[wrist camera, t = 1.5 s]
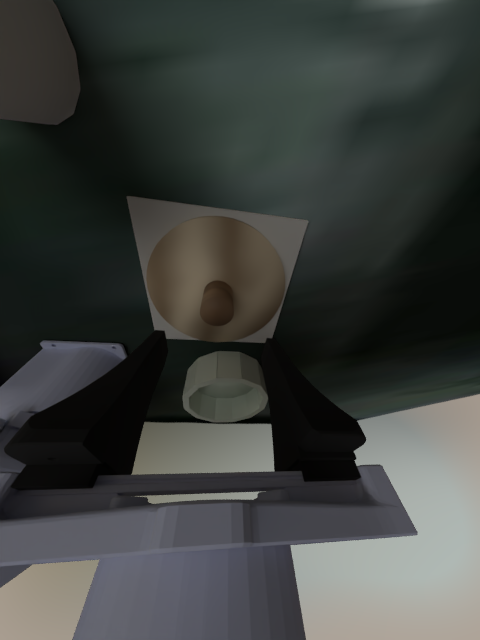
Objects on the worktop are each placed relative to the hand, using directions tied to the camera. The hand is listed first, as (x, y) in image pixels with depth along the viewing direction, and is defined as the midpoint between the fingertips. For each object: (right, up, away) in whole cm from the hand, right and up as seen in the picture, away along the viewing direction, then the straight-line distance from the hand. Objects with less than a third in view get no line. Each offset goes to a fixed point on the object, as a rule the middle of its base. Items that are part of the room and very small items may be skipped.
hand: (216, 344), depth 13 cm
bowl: (-1, -8, +17) cm, 18 cm away
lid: (-1, +5, +6) cm, 8 cm away
